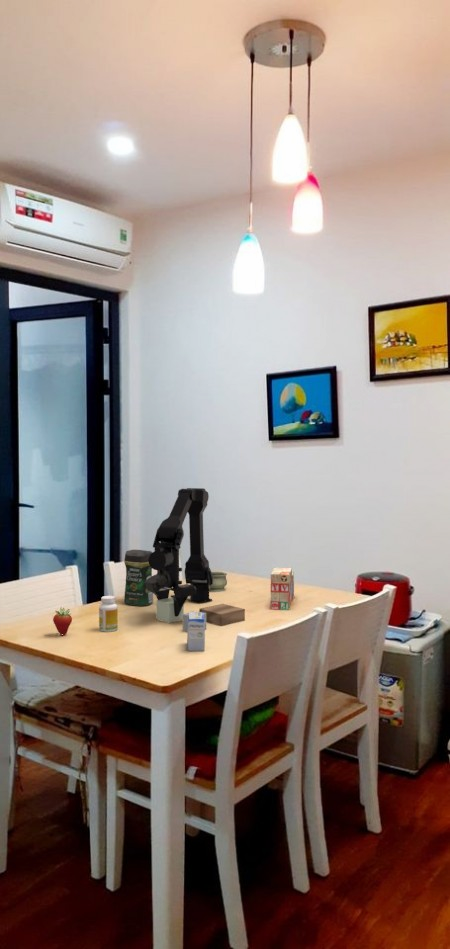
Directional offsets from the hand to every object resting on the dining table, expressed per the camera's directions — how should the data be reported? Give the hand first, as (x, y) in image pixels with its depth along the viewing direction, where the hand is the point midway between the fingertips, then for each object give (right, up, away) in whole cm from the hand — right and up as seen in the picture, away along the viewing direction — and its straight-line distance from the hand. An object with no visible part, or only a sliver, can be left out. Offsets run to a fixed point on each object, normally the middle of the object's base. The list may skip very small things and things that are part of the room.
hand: (170, 614), depth 221 cm
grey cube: (+8, -2, -13) cm, 15 cm away
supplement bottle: (-17, -2, -12) cm, 21 cm away
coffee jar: (-12, -1, +22) cm, 25 cm away
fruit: (-29, -3, -18) cm, 35 cm away
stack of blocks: (+37, -1, +23) cm, 44 cm away
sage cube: (0, -2, 0) cm, 2 cm away
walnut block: (+16, -2, -1) cm, 16 cm away
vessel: (+14, 0, +45) cm, 47 cm away
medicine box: (+9, -3, -30) cm, 31 cm away
